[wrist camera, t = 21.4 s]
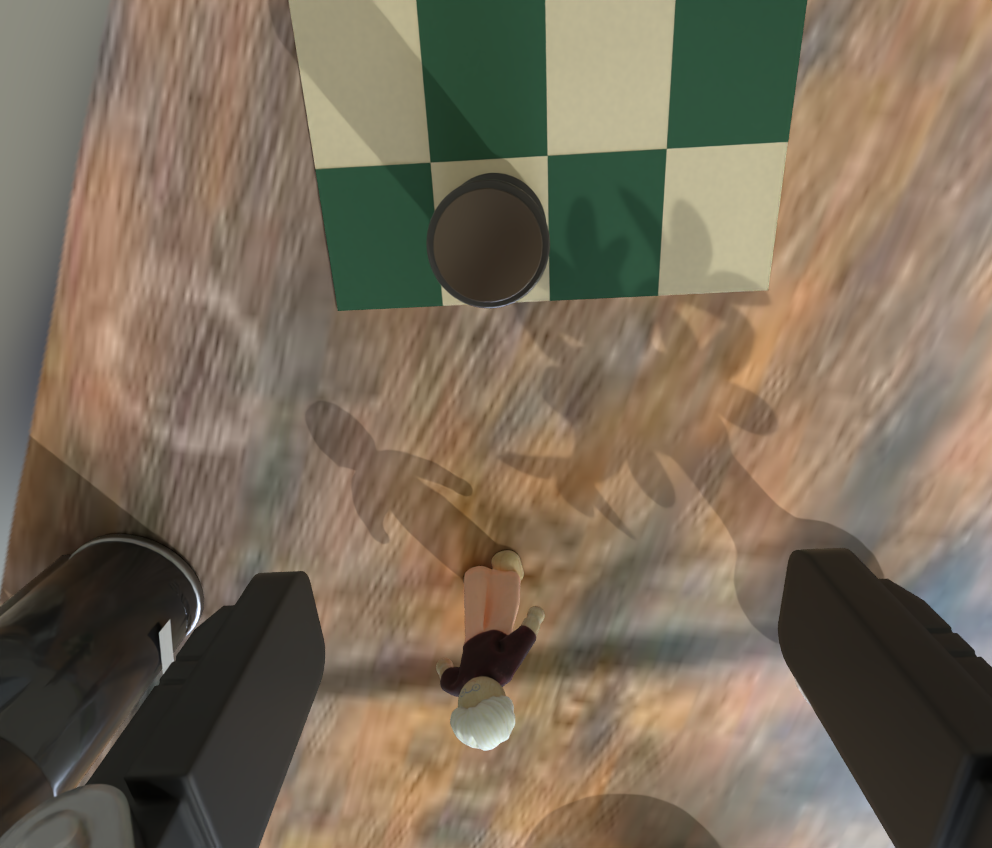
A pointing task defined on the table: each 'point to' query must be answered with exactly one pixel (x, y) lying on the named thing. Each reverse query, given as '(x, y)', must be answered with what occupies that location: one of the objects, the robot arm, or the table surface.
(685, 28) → the chess mat
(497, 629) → the grandmother figurine
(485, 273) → the dark grey cylinder
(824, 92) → the table surface
